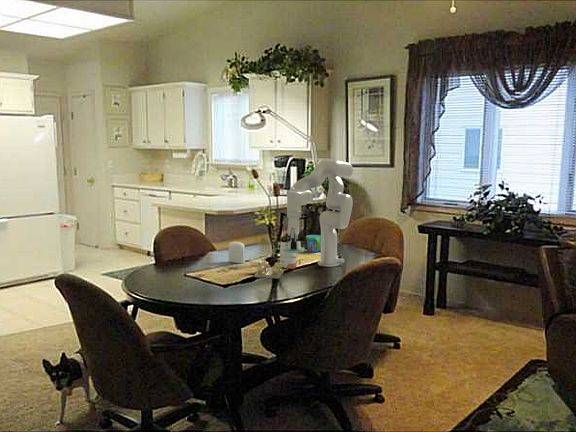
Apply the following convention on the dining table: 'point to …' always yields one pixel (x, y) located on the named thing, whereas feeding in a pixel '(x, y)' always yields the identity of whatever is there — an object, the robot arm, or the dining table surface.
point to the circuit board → (299, 249)
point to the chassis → (269, 270)
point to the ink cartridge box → (287, 257)
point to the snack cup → (313, 243)
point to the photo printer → (236, 252)
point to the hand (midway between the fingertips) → (294, 247)
